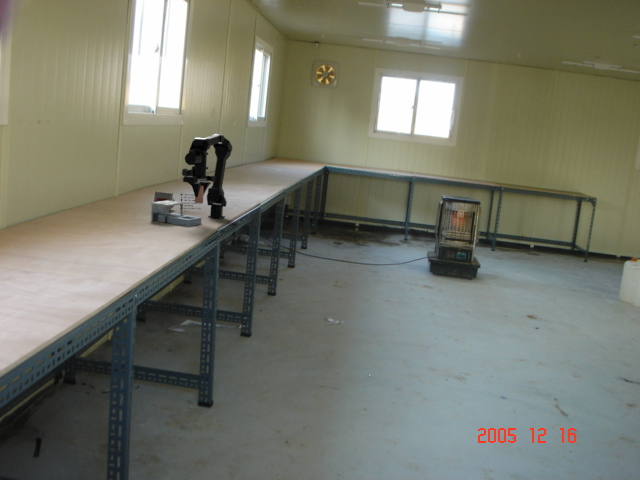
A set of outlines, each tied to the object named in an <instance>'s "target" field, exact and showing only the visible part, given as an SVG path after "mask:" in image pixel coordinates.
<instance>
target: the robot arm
mask: <svg viewBox="0 0 640 480" xmlns="http://www.w3.org/2000/svg"><path fill="white" fill-rule="evenodd" d="M211 146H212V147H213V149H214V153H215V156H216V163H215V169H214V173H213V174H214V175H210V174H207V170H209V167H208V166H207V161H208V160H207V158H208V157H207V156H209V152H208V151H209V150H210V148H211ZM232 152H233V144H232V143H231V141H230V140H228V139H227V138H225V136H224V135H223V134H219V133H213V134H212V135H209V136H206V137H194V138H193V140H192V142H191V145H190V147H189V149H188V153H186V155H185V157H184V162H185V163H186V164H187V165H189V166H191V169H188V168H183V169H182V170H181V175H182V176H183V177H182V182H183V183H186V184H188V185H190V186H191V187H192V191H193V196H194V195H195V196H194V198H195V197H198V194H199V190H200V186H204V191H203V196H205V193H206V191H207V193H206V201H207V202H206V203H207V206H210V214H209V215H208V216H207V217H208V218H212V219H223V218H226V216H224V215H223V214H224V212H223V211H224V210H223V209H224V208H225V207H227V203H228V201H227V199H226V197H225V191H224V189H223V184H224V177H225V171H226V164H227V160H228V159H229V158H230V157H231V154H232ZM211 184H212V186H211V187H209V186H210V185H211Z"/></svg>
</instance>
